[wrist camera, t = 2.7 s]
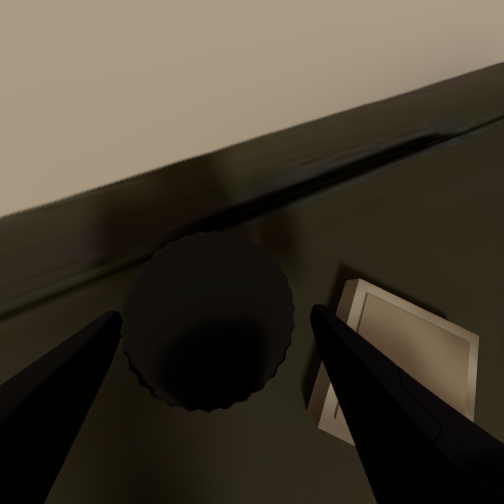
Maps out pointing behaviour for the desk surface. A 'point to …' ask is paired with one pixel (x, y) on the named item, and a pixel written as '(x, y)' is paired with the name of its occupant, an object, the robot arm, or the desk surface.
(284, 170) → the desk surface
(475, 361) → the base slab
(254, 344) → the supplement bottle
